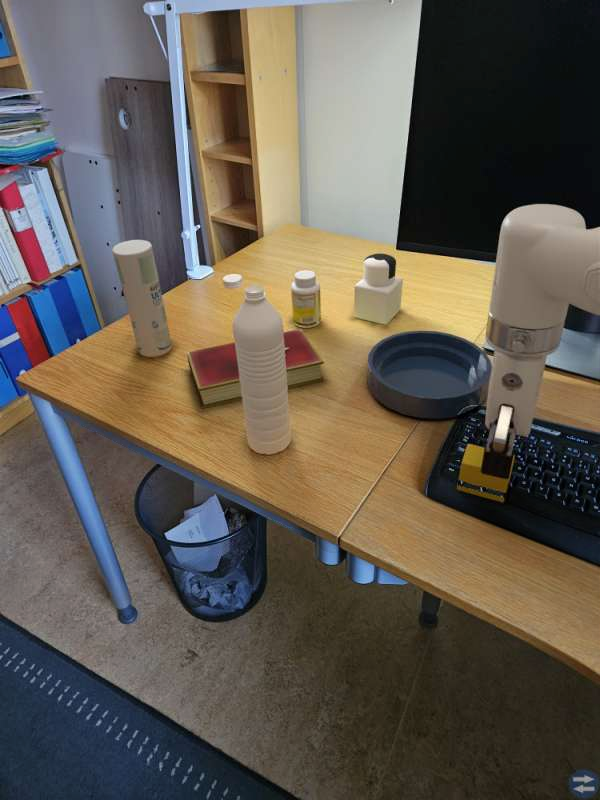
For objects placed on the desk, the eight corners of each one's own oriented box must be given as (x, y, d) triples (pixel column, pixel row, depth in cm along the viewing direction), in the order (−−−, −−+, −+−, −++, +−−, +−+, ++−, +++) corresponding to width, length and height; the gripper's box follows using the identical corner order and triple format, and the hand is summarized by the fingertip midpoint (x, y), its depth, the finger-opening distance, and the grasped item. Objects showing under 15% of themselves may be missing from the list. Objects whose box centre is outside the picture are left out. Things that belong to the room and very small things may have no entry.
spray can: (167, 357, 103) (145, 254, 91) (133, 357, 103) (106, 255, 91) (176, 339, 108) (156, 239, 96) (143, 339, 108) (119, 239, 96)
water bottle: (300, 440, 83) (291, 286, 68) (267, 462, 80) (250, 305, 64) (261, 414, 88) (245, 266, 73) (229, 434, 85) (205, 283, 70)
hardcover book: (189, 369, 99) (186, 349, 97) (301, 345, 104) (300, 326, 101) (202, 408, 90) (198, 387, 88) (324, 380, 95) (323, 359, 92)
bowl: (496, 364, 97) (500, 342, 94) (474, 434, 83) (479, 410, 80) (387, 343, 103) (388, 322, 101) (350, 404, 89) (350, 381, 87)
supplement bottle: (307, 312, 114) (305, 265, 108) (326, 321, 111) (326, 273, 105) (287, 322, 111) (284, 274, 105) (306, 332, 108) (304, 283, 102)
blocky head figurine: (368, 302, 116) (371, 247, 109) (400, 310, 113) (405, 253, 106) (353, 317, 112) (354, 261, 104) (386, 325, 109) (390, 268, 101)
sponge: (507, 482, 75) (515, 454, 72) (503, 503, 72) (510, 475, 69) (462, 470, 77) (467, 443, 74) (456, 490, 74) (461, 462, 71)
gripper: (555, 377, 52) (524, 505, 62) (567, 297, 64) (540, 415, 74) (472, 363, 54) (455, 488, 65) (499, 289, 67) (482, 404, 77)
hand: (501, 449), depth 69 cm, fingers open, 9 cm apart
